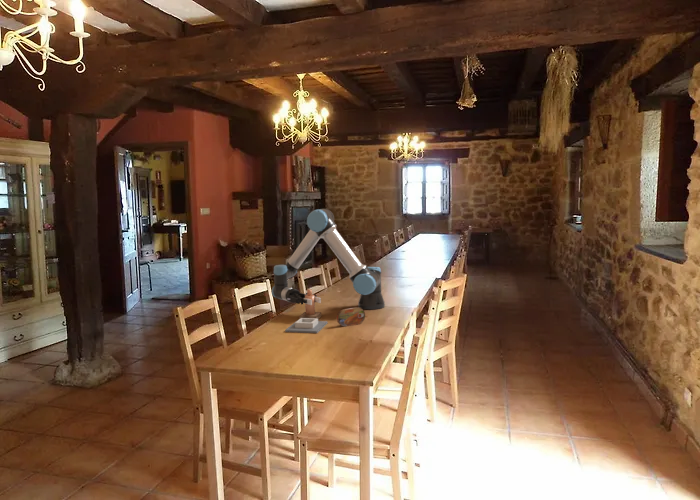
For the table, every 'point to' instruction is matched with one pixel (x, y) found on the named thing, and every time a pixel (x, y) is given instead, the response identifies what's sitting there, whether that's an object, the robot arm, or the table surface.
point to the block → (316, 315)
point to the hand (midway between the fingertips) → (315, 301)
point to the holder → (306, 325)
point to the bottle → (310, 308)
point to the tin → (351, 316)
